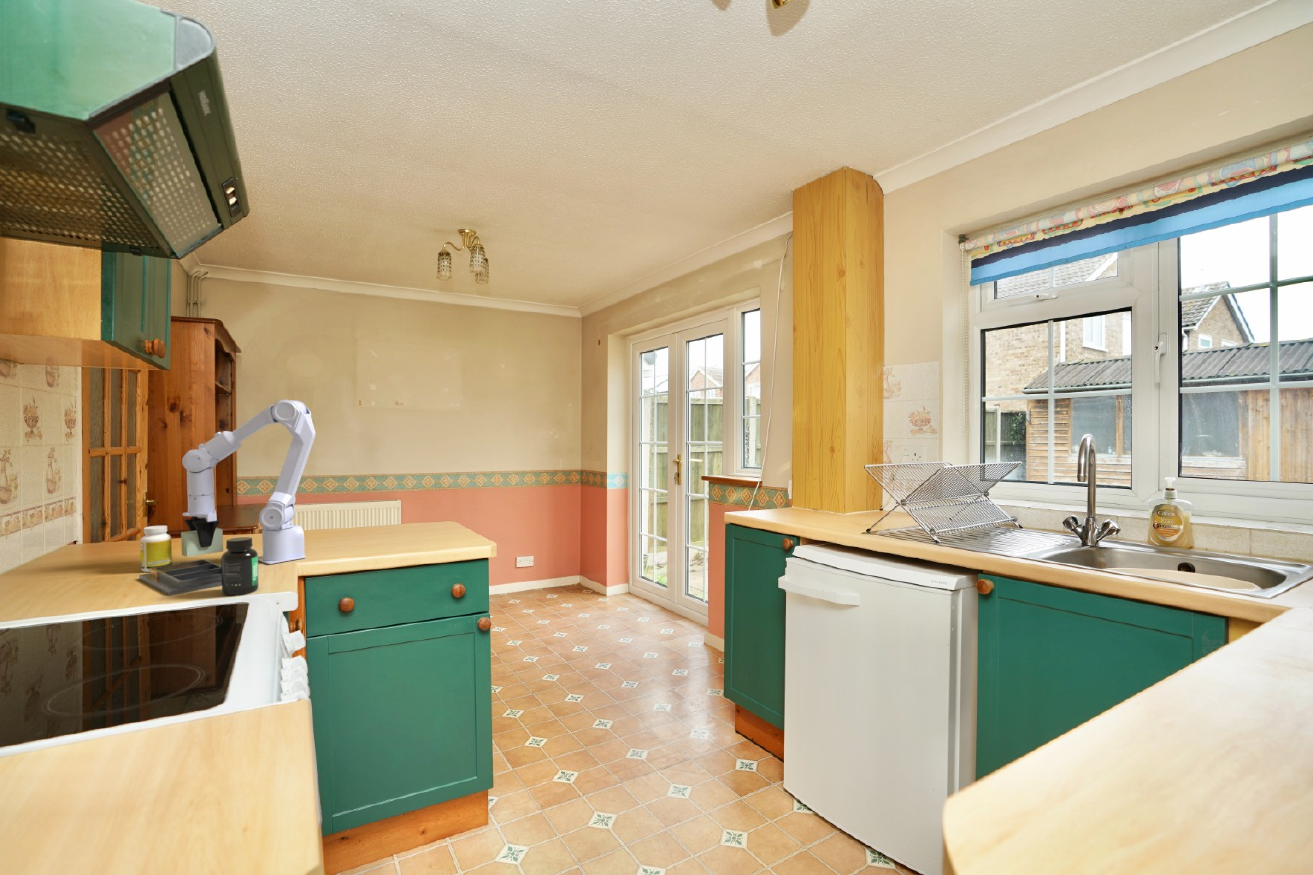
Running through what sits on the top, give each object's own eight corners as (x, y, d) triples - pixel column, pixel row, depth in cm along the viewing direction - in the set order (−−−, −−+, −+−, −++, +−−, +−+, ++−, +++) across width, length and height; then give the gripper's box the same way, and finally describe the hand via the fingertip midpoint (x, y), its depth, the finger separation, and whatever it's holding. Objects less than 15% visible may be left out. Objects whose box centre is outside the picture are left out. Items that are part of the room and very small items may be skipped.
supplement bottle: (264, 590, 139) (263, 537, 138) (232, 597, 133) (230, 543, 132) (248, 585, 142) (247, 534, 141) (215, 593, 136) (214, 540, 135)
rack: (212, 566, 159) (212, 557, 159) (246, 580, 146) (246, 570, 146) (139, 579, 147) (138, 568, 147) (169, 595, 134) (169, 584, 134)
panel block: (217, 549, 166) (216, 527, 166) (223, 551, 164) (222, 529, 163) (181, 555, 160) (181, 532, 159) (187, 557, 157) (186, 534, 157)
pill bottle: (178, 566, 159) (177, 524, 159) (156, 572, 153) (155, 529, 152) (156, 566, 160) (155, 524, 159) (134, 572, 153) (133, 528, 153)
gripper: (173, 494, 162) (174, 544, 163) (192, 498, 153) (194, 552, 154) (204, 491, 168) (206, 540, 168) (225, 495, 159) (226, 547, 160)
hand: (202, 545), depth 162 cm, fingers closed on panel block, 4 cm apart
